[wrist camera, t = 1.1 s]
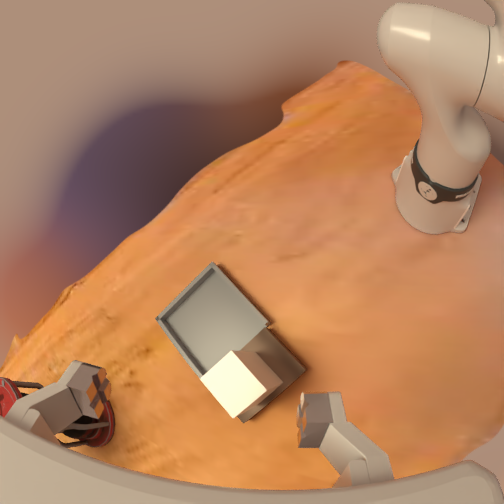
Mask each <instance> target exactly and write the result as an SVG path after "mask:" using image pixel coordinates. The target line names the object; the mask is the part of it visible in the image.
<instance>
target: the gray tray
mask: <svg viewBox="0 0 504 504" xmlns="http://www.w3.org/2000/svg"><path fill="white" fill-rule="evenodd" d="M155 319H156V321H157V322H158V323H159V325H160V326H161V328H162V329H163V330H164V332H165V333H166V335H167V336H168V337H169V339H170V340H171V342H172V343H173V344H174V346H175V347H176V348H177V350H178V351H179V352H180V354H181V355H182V356H183V358H184V359H185V360H186V362H187V363H188V364H189V365H190V367H191V368H192V369H193V371H194V372H195V373H196V374H197V376H198V377H199V378H201V377H202V376H203V375H205V374H206V373H207V372H208V371H209V370H210V369H211V368H212V367H214V366H215V365H216V364H217V363H218V362H219V361H220V360H221V359H222V358H223V357H225V356H226V355H227V354H228V353H229V352H230V351H231V350H234V351H240V350H241V349H242V348H243V347H244V346H245V345H246V344H247V343H248V342H249V341H250V340H252V339H253V338H254V337H255V336H256V335H257V334H258V333H259V332H260V331H261V330H262V329H263V328H264V327H266V328H267V327H268V326H269V325H270V324H271V323H270V322H269V320H268V319H267V318H266V317H265V316H264V315H263V314H262V313H261V312H260V311H259V310H258V309H257V308H256V307H255V306H254V305H253V303H252V302H251V301H250V300H249V299H248V298H247V297H246V296H245V295H244V294H243V293H242V292H241V291H240V290H239V288H238V287H237V286H236V285H235V284H234V283H233V282H232V281H231V280H230V279H229V278H228V276H227V275H226V274H225V273H224V272H223V271H222V270H221V269H220V268H219V267H218V266H217V265H216V264H215V263H214V262H211V263H210V264H209V265H208V266H207V267H206V268H205V269H204V270H203V271H202V272H201V273H200V274H199V275H198V276H197V277H196V278H195V279H194V280H193V281H192V282H191V283H190V284H189V285H188V286H187V287H186V288H185V289H184V290H183V291H182V292H181V293H180V294H179V295H178V296H177V297H176V298H175V299H174V300H173V301H172V302H171V303H170V304H169V305H168V306H167V307H166V308H165V309H164V310H163V311H162V312H161V313H160V314H159V315H158V316H157V317H156V318H155Z"/></svg>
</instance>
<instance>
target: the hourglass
mask: <svg viewBox="0 0 504 504" xmlns="http://www.w3.org/2000/svg"><path fill="white" fill-rule="evenodd" d="M17 387H23V388H37V389H42V388H44V387H43V386H42V385H41V384H39V383H32V382H19V381H11V380H10V379H8V378H3V377H0V415H1V416H2V417H5V416H6V415H7V413H8V412H9V410H10V409H11V407H12V406H13V405H14V403H15V402H16V400H18V399H20V398H22V397H25V396H27V395H29V394H26V393H20V391H19V389H18V388H17ZM103 406H104V410H103V412H102V414H101V416H100V418H99V419H96V418H93V417H89V416H86V415H82V416H81V417H80V418H78V419H77V420H76V421H74V422H73V423H71V424H70V425H68V426H67V427H66V428H64V429H63V430H61V431H60V432H59V433H63V434H65V435H66V436H68V437H71V438H74V439H79V440H80V441H78V442H72V443H63V442H61V441H60V440H59V439H57V440H58V441H59V442H60V445H61V446H63V447H66V448H70V447H76V446H81V445H87V446H91V447H99V446H103V445H105V444H107V443H108V442H109V441H110V440H111V438H112V436H113V434H114V426H115V422H114V414H113V411H112V408H111V405H110V402H109V401H107V402H105V403H104V404H103Z"/></svg>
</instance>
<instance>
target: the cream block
mask: <svg viewBox="0 0 504 504" xmlns="http://www.w3.org/2000/svg"><path fill="white" fill-rule="evenodd" d="M200 380H201V381H202V382H203V383H204V385H205V386H206V387H207V388H208V390H209V391H210V392H211V393H212V394H213V396H214V397H215V398H216V399H217V400H218V402H219V403H220V404H221V405H222V406H223V407H224V409H225V410H226V411H227V412H228V413H229V414H230V415H231V417H232V418H235V417H237V416H239V415H240V414H242V413H244V412H246V411H248V410H249V409H251V408H253V407H255V406H256V405H258V404H259V403H260V402H261V401H262V400H264V399H265V398H266V397H267V396H268V395H270V394H271V393H272V392H273V391H274V390H275V389H276V388H278V387H279V386H280V385H281V384H282V383H283V381H282V380H281V379H280V378H279V377H278V376H277V375H276V374H275V373H274V372H273V371H272V370H271V368H270V367H269V366H268V365H267V364H266V363H265V362H264V361H263V360H262V359H261V358H260V357H259V355H258V354H257V353H256V352H248V351H234V350H231V351H230V352H229V353H228V354H227V355H226V356H225V357H223V358H222V359H221V360H220V361H219V362H218V363H217V364H216V365H215V366H214V367H212V368H211V369H210V370H209V371H208V372H207V373H206V374H205V375H203V376H202V377H201V378H200Z"/></svg>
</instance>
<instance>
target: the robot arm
mask: <svg viewBox="0 0 504 504" xmlns="http://www.w3.org/2000/svg"><path fill="white" fill-rule="evenodd" d="M484 1H485V2H486V3H487V4H488V5H489V6H490V7H491V8H492V9H493V11H494V13H495V25H494V26H487V25H484V24H482V23H479V22H477V21H475V20H472V19H470V18H467V17H465V16H462V15H459V14H457V13H454V12H451V11H448V10H445V9H442V8H439V7H436V6H431V5H424V4H415V3H396V4H394V5H393V6H391V7H390V8H389V9H388V10H387V11H386V12H385V13H384V14H383V16H382V18H381V19H380V21H379V24H378V28H377V44H378V48H379V51H380V54H381V56H382V58H383V60H384V62H385V64H386V65H387V66H388V68H389V69H390V70H391V71H392V72H393V73H395V74H396V75H397V76H398V77H399V78H400V79H401V80H402V81H403V82H404V83H405V84H406V85H407V86H408V88H409V89H410V90H411V92H412V93H413V95H414V97H415V98H416V100H417V102H418V104H419V107H420V110H421V113H422V127H421V133H420V138H419V139H418V141H417V143H416V145H415V147H414V149H413V150H411V151H410V153H409V155H408V156H405V158H404V160H403V163H402V165H400V166H399V167H397V168H396V169H394V170H393V172H392V179H393V182H394V184H395V187H396V203H397V206H398V209H399V211H400V213H401V215H402V216H403V217H404V219H405V220H406V221H407V222H408V223H409V224H410V225H411V226H413V227H414V228H416V229H418V230H420V231H422V232H425V233H429V234H441V233H445V232H450V231H451V232H456V233H463V232H464V231H465V229H466V227H467V225H468V222H469V219H470V216H471V213H472V210H473V207H474V204H475V201H476V198H477V194H478V191H479V188H480V184H481V180H482V178H481V176H480V174H479V172H480V170H481V168H482V167H483V165H484V163H485V161H486V159H487V158H488V156H489V154H490V150H491V136H490V133H489V130H488V127H487V125H486V123H485V121H484V119H483V118H482V116H481V115H480V114H479V112H478V111H477V110H476V109H478V110H480V111H483V112H485V113H487V114H489V115H491V116H493V117H495V118H497V119H499V120H500V121H502V122H504V0H484ZM475 108H476V109H475ZM461 220H463V222H464V223H463V222H462V221H461ZM106 375H107V373H106V370H105V368H102V367H98V366H95V365H91V364H88V363H84V362H80V361H77V360H74V361H72V362H71V364H70V365H69V367H68V368H67V369H66V371H65V372H64V374H63V375H62V376H61V378H60V379H59V381H58V382H57V383H55V382H54V383H52V384H50V385H48V386H46V387H44V388H42V389H39V390H37V391H35V392H33V393H31V394H29V395H27V396H25V397H22V398H20V399H18V400H16V402H15V403H14V405H13V406H12V407H11V409H10V410H9V412H8V413H7V415H6V416H5V417H2V416H1V415H0V504H504V496H503V492H502V489H501V487H500V484H499V482H498V479H497V478H496V476H495V475H494V474H493V473H492V472H490V471H489V470H488V469H486V468H484V467H483V466H481V465H480V464H478V463H476V462H474V461H472V460H465V461H461V462H458V463H455V464H452V465H449V466H446V467H443V468H439V469H436V470H432V471H428V472H425V473H421V474H417V475H412V476H408V477H403V478H399V479H394V477H393V473H392V469H391V465H390V461H389V457H388V455H387V454H386V453H385V452H384V451H383V450H382V449H380V448H379V447H378V446H377V445H376V444H375V443H374V442H372V441H371V440H370V439H369V438H368V437H367V436H366V435H365V434H363V433H362V432H361V431H360V430H359V429H358V428H357V427H356V426H355V425H353V424H352V423H351V422H347V419H346V414H345V410H344V405H343V401H342V397H341V393H340V392H302V394H301V397H300V401H301V403H300V404H299V405H298V409H297V427H298V428H299V431H298V435H297V436H298V448H319V449H320V451H321V452H322V453H323V454H324V456H325V457H326V458H327V459H328V461H329V462H330V463H331V464H332V466H333V467H334V468H335V469H336V470H337V472H338V473H339V474H340V475H341V476H340V477H339V478H338V480H337V481H336V483H335V484H334V485H333V487H332V488H327V489H310V490H259V489H242V488H230V487H220V486H212V485H204V484H197V483H191V482H185V481H179V480H174V479H169V478H164V477H159V476H155V475H150V474H146V473H142V472H138V471H134V470H130V469H127V468H123V467H120V466H116V465H113V464H110V463H107V462H104V461H101V460H98V459H95V458H92V457H89V456H86V455H84V454H81V453H78V452H76V451H73V450H70V449H68V448H66V447H63V446H61V445H60V442H59V441H58V440H57V438H56V437H55V435H56V434H57V433H59V432H60V431H61V430H63V429H64V428H66V427H67V426H68V425H70V424H71V423H73V422H74V421H76V420H77V419H78V418H80V417H81V416H82V415H86V416H89V417H93V418H96V419H99V418H100V416H101V414H102V412H103V410H104V406H103V404H104V403H105V402H107V401H108V400H109V397H110V394H111V384H110V381H109V380H108V379H107V378H106Z"/></svg>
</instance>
